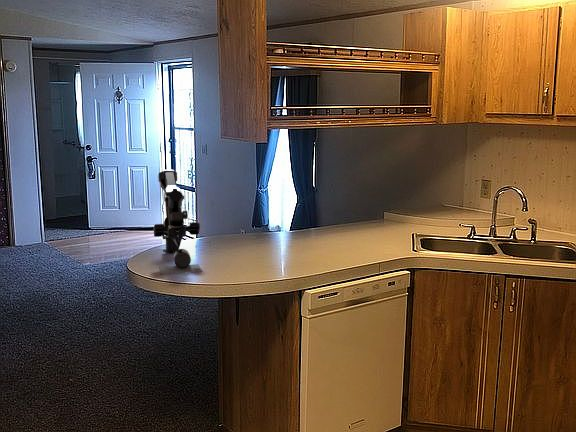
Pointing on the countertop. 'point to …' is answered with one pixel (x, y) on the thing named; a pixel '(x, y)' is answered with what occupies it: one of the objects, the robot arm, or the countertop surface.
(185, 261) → the supplement bottle
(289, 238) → the countertop surface
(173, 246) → the robot arm
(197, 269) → the metal sheet
